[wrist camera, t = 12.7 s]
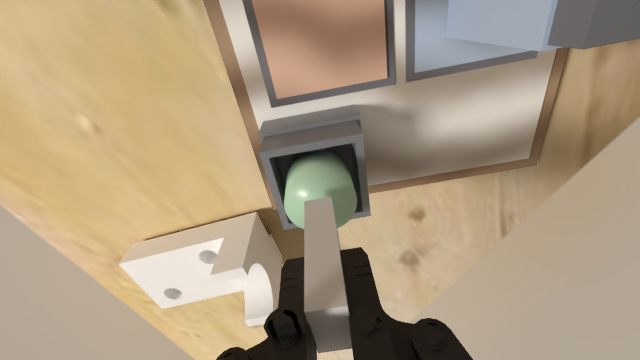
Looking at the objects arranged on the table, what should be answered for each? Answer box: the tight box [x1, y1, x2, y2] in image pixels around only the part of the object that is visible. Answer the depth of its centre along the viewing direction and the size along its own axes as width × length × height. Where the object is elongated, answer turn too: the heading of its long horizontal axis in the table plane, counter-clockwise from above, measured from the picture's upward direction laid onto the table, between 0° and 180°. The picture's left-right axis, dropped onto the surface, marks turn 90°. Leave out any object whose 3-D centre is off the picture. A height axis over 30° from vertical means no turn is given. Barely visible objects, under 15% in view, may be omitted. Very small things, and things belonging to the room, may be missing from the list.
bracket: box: [118, 212, 283, 327], centre depth 26 cm, size 13×7×8 cm, turn 106°
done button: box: [284, 150, 357, 229], centre depth 18 cm, size 4×4×3 cm
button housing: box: [258, 104, 371, 230], centre depth 20 cm, size 7×7×5 cm
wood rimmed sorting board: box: [203, 0, 568, 210], centre depth 20 cm, size 20×24×1 cm
